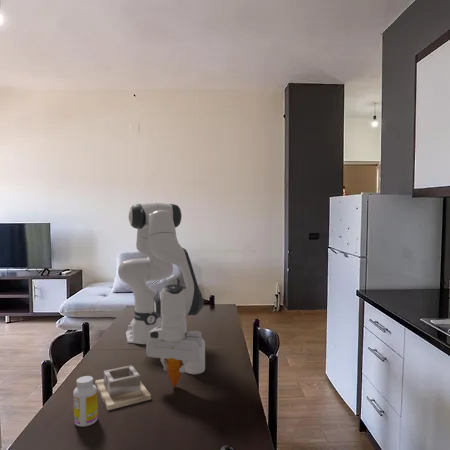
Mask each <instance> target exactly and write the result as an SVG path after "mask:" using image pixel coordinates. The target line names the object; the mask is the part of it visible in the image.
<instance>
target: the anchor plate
mask: <svg viewBox="0 0 450 450" xmlns="http://www.w3.org/2000/svg"><path fill="white" fill-rule="evenodd" d="M94 382H95V383H94V385H95V386H96V388H97V393H98V394H99V396H100V397H101V400H102V402H103V403H104V406H105V408H106V410H107V411H112V410H115V409H118V408H122V407H125V406H130V405H134V404H138V403H142V402H146V401H149V400H152V395H151V393H150V392H149V391H148V389H147V388H146V387H145V385H144V384H143V383H142V381H141V375H140V373H139V372H138V371H137V370H136V369H135V366H133V365H132V364H130V365H125V366H120V367H115V368H111V369H107V370H103V378H101V379H96V380H95V381H94Z"/></svg>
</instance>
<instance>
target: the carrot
mask: <svg viewBox="0 0 450 450" xmlns="http://www.w3.org/2000/svg"><path fill="white" fill-rule="evenodd" d="M172 349H174V347H172ZM166 362H167V367H168V371H167V373H168V378H169V381H170V384H171V385H172V387H173V388H176V387H177V385H178V383H179V381H180V377H181V374H182V372H179V371H180V370H179V368H180V367H181V366H182V360H176V359H174V358H169V359H166Z"/></svg>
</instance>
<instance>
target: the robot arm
mask: <svg viewBox="0 0 450 450" xmlns="http://www.w3.org/2000/svg"><path fill="white" fill-rule="evenodd" d="M181 210H182V209H181V208H180V206H179V205H177V204H175V203H163V202H162V203H161V202H155V203H153V202H152V203H136V204H133V205H132V206H131V207H130V208H129V211H128V221H129V224H130V226H131V227H132V228H133V229H137V232H136V233H137V234H136V243H135V247H136V249H137V251H138V253H141V254H142V255H144V256H146V257H143V258H141V257H140V258H131V259H130V258H129V259H126V260H124V261H121V263H120V264H119V266H118V267H117V268H118V269H117V271H118V272H117V274H118V277H119V279H120V280H121V281H122V282H123V283H125V284H126V285H128V287H129V288H130V289H131V291H132V294H133V297H134V311H133V318H132V320H131V321H130V324H128V325H127V330H126V332H125V336H126V340H127V341H126V342H127V343H128V344H137V345H145V346H146V347H145V353H146V356H147V357H148V358H157V359H160V363H161V364H162V366H163V371H167V372H168V367H167V359H169V358H174V359H176V360H181V364H183V365H181V367H180V368H179V370H180V371H179V372H181V373H186V372H185V366H186V364H187V363H188V361H191V362H199V361H200V360H201V359H202V357H203V353H202V339H203V338H201V337H202V336H201V337H200V336H198V334H189V333H188V331H187V328H188V327H187V319H186V316H197V315H198V314H199V313H200V312H201V311H202V310H203V308H204V298H203V294H202V292H201V289H200V287H199V284H198V281H197V278H196V275H195V272H194V268H193V265H192V262H191V258H190V256H189V253H188V251H187V249H186V248H184V247H183V246H181V245H180V243H179V241H178V239H177V238H178V236H177V231H176V228H177V227H179V226H180V225H181V223H182V216H183V215H182V211H181ZM174 266H176V267H178V268H179V270H180V272H181V275H182V278H183V281H184V282H183V283H184V284H185V287H183V286H182V285H179V284H175V283H173V284H167V285H165V286H164V287H162V289H161V291H156V289H154V288H151V287H148V286H147V284H146V283H147V282H152V281H153V282H155V281H163V280H166V279H169V278H170V277H171V276H172V274H173V272H174ZM172 347H174V349H172Z"/></svg>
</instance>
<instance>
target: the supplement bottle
mask: <svg viewBox="0 0 450 450" xmlns="http://www.w3.org/2000/svg"><path fill="white" fill-rule="evenodd" d="M75 382H76V384H75V385H76V387H75V388H74V389H73V392H72V394H73V395H72V398H73V400H72V401H73V422H74V424H75V426H77V427H89V426H91V425H93V424H95V423H96V422H97V420H98V417H99V413H98V389H97V387H96V385H95V384H94V377H93V376H91V375H85V376H80V377H78V378H77V379H76V381H75Z"/></svg>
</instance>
